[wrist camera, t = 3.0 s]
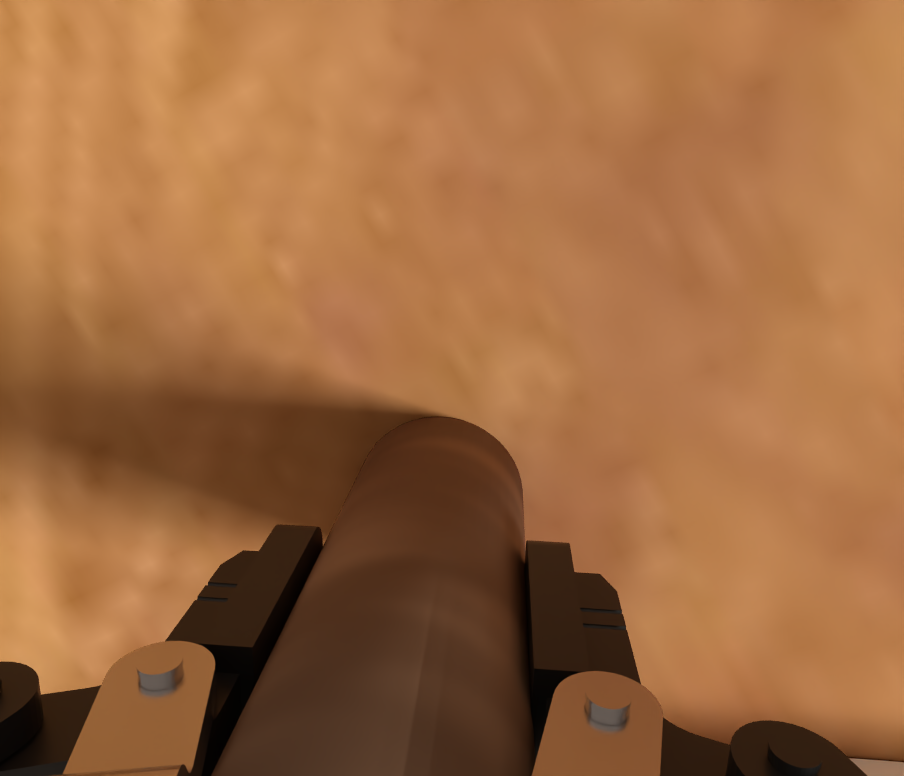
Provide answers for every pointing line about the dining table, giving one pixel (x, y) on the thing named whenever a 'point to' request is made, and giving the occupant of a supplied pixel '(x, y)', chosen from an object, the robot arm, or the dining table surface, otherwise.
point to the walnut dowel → (405, 625)
